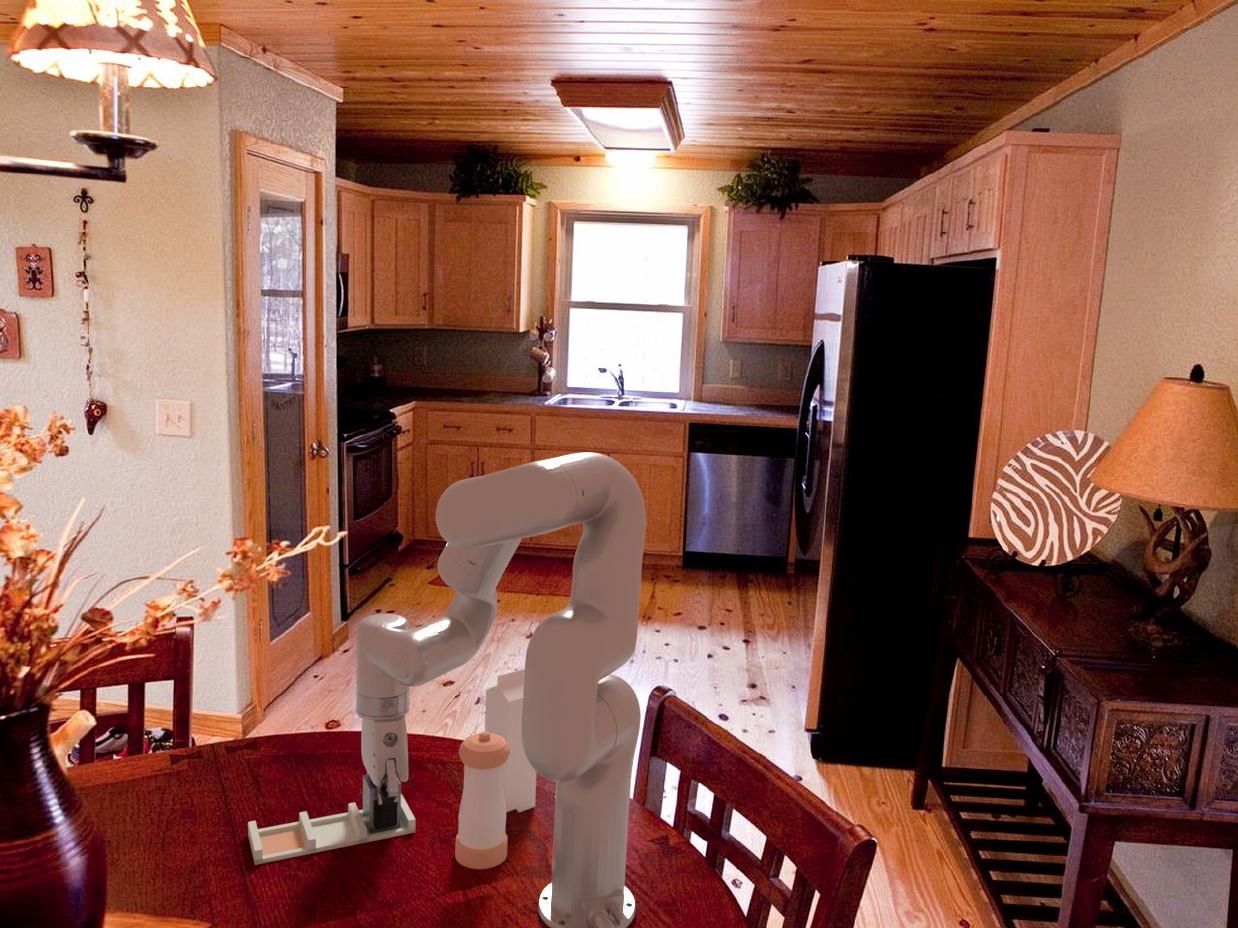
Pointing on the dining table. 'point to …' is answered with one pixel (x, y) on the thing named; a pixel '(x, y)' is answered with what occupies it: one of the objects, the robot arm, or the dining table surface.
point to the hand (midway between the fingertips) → (381, 816)
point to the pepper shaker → (482, 802)
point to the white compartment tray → (319, 834)
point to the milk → (511, 739)
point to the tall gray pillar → (369, 801)
